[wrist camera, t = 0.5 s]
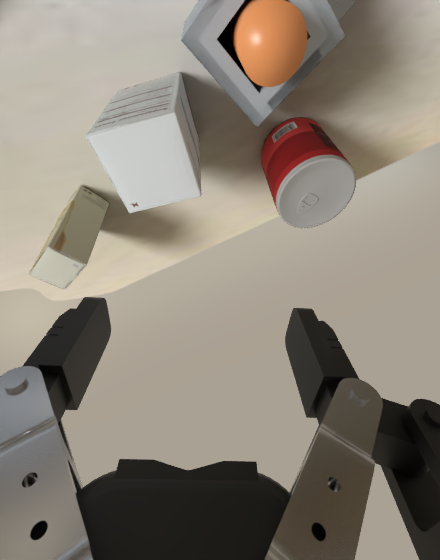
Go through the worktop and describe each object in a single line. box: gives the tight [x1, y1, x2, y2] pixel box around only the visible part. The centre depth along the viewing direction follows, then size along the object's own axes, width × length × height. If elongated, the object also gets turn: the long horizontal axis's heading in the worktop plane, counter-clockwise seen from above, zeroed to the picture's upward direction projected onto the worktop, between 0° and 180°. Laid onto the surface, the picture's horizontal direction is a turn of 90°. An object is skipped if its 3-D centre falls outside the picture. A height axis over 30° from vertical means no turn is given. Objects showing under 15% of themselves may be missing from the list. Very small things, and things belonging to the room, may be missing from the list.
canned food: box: [261, 118, 356, 228], centre depth 31 cm, size 8×8×11 cm
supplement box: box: [86, 72, 201, 213], centre depth 27 cm, size 7×7×13 cm
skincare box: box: [29, 186, 109, 289], centre depth 35 cm, size 6×4×12 cm
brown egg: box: [231, 0, 307, 87], centre depth 19 cm, size 4×4×6 cm
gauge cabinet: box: [181, 0, 345, 127], centre depth 22 cm, size 8×8×10 cm
